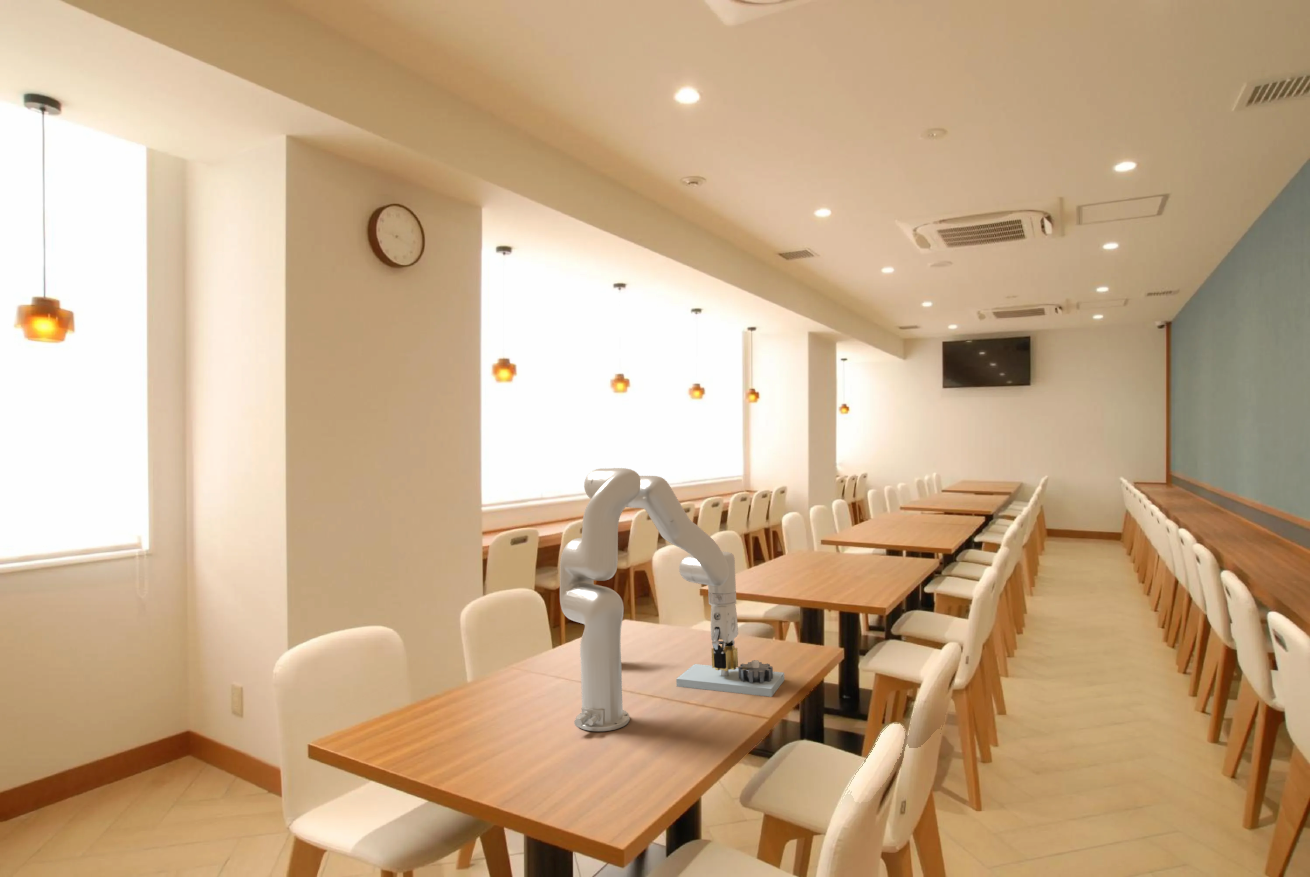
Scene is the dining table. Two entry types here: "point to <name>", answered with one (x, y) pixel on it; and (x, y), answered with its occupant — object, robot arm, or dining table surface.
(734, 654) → the brass gear
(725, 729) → the dining table surface
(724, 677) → the board
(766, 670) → the steel gear
